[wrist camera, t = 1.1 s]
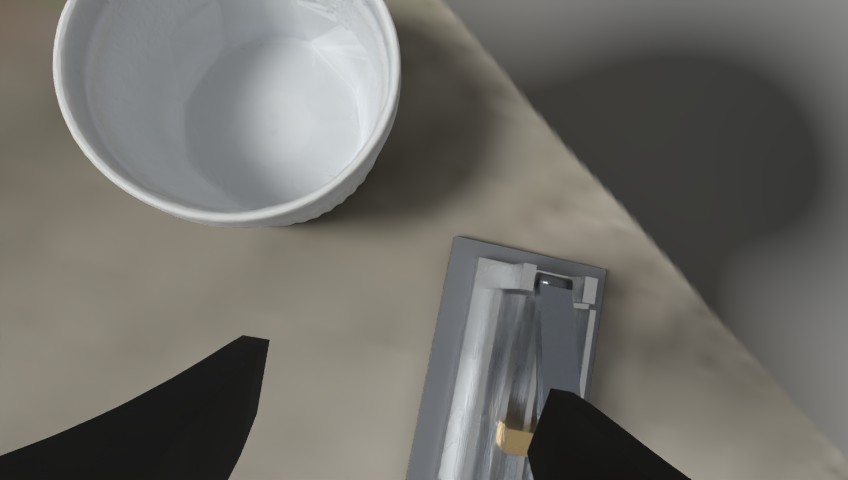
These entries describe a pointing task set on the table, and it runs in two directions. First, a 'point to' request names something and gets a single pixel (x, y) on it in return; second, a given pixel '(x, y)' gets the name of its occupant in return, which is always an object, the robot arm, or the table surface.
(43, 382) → the table surface
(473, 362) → the grey slide rail
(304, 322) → the table surface
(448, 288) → the slate board
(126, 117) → the ramekin
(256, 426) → the table surface
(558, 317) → the strap
